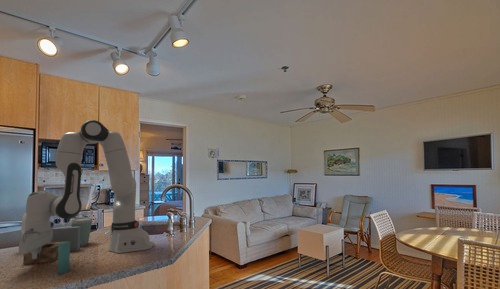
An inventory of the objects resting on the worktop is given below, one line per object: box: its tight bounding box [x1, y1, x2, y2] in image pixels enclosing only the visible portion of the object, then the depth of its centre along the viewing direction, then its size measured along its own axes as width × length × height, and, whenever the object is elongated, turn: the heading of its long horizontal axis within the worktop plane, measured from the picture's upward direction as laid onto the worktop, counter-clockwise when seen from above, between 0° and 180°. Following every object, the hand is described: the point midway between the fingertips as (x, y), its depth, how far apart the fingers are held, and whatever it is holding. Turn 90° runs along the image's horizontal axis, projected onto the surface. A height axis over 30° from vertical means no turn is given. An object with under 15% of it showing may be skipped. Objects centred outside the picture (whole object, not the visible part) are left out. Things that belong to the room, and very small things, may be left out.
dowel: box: [57, 241, 71, 275], centre depth 112 cm, size 4×4×12 cm
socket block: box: [22, 242, 60, 265], centre depth 129 cm, size 12×12×6 cm
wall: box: [49, 226, 81, 252], centre depth 141 cm, size 20×3×12 cm, turn 102°
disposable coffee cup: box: [70, 216, 93, 247], centre depth 153 cm, size 11×11×15 cm
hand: (36, 257), depth 121 cm, fingers closed
